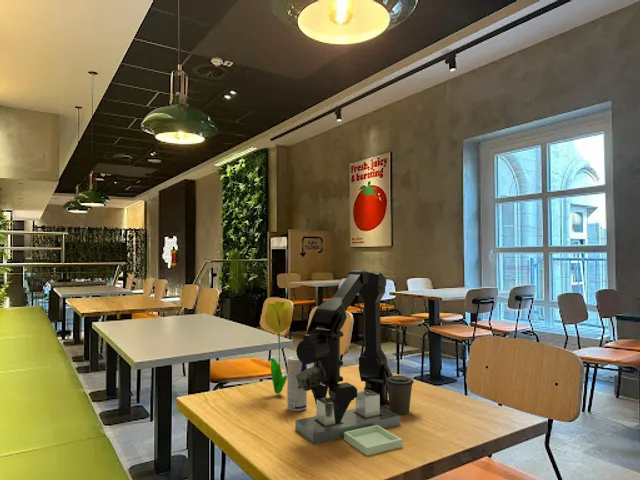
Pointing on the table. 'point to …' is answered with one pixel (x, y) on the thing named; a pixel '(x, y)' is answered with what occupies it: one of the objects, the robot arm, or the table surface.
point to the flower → (278, 322)
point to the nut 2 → (368, 404)
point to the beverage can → (295, 385)
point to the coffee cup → (399, 393)
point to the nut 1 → (325, 412)
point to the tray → (372, 440)
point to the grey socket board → (343, 425)
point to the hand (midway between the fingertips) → (328, 417)
